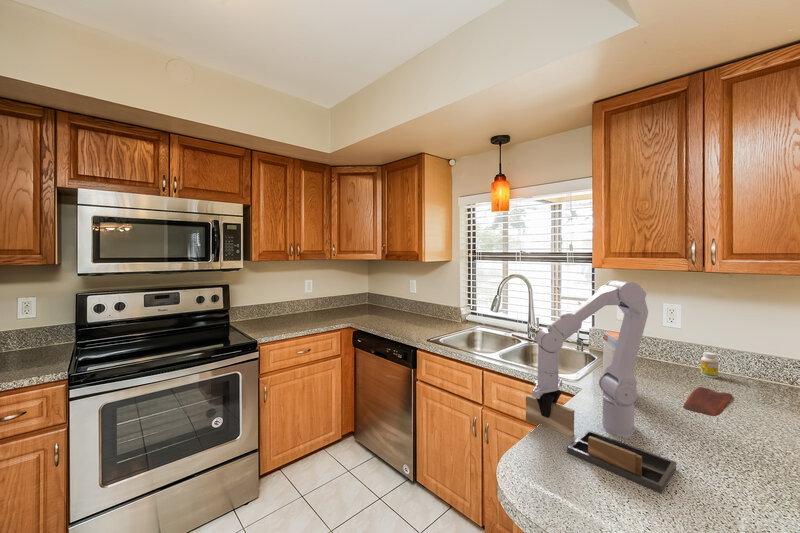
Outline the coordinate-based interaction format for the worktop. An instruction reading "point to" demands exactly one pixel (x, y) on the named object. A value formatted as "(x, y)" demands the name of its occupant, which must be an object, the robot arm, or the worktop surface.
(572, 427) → the birch sheet
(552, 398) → the robot arm
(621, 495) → the worktop surface
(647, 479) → the rack
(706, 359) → the supplement bottle
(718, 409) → the reddish brown cloth
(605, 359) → the cracker box
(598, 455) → the oak offcuts
